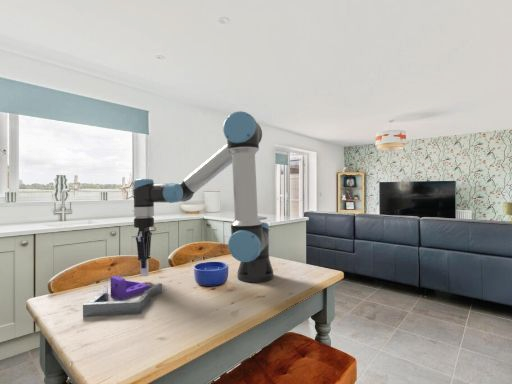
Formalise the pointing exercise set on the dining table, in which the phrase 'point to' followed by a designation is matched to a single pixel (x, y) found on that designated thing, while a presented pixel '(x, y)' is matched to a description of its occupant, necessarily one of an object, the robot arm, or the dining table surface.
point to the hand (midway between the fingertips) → (144, 275)
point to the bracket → (126, 288)
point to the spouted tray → (118, 304)
